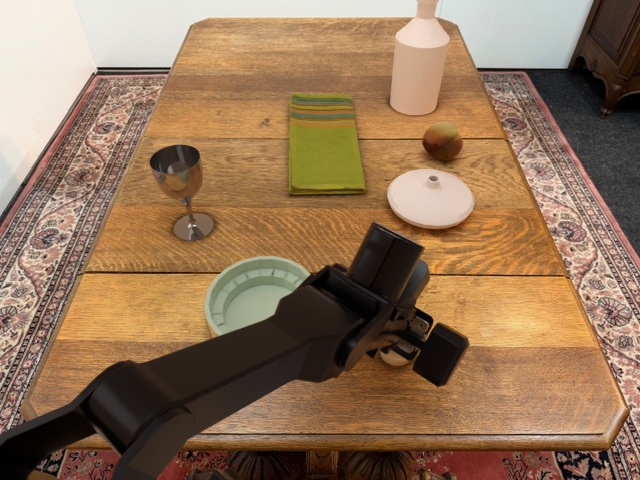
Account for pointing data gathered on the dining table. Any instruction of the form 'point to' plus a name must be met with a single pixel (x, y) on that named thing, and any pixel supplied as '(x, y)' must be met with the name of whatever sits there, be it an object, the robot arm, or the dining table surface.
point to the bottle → (419, 62)
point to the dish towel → (323, 145)
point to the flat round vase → (430, 198)
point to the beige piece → (393, 359)
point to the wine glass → (182, 186)
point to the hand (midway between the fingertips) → (406, 317)
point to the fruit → (442, 141)
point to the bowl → (250, 292)
